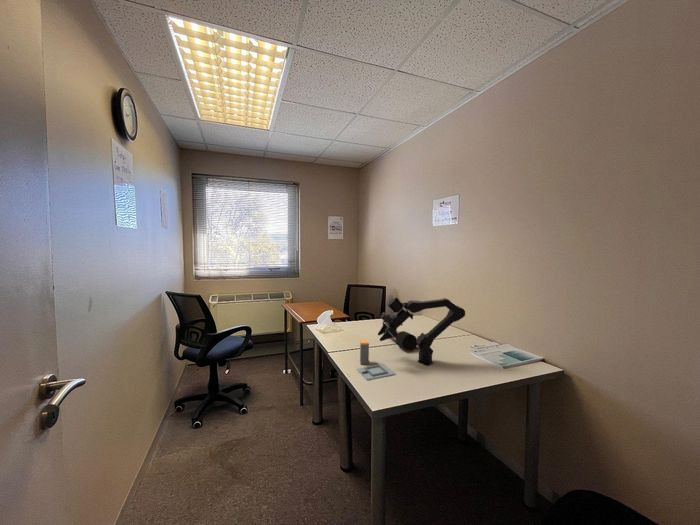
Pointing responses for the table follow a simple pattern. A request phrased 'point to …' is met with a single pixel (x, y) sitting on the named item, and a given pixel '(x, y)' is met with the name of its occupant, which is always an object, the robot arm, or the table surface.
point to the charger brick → (364, 352)
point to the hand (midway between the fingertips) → (379, 337)
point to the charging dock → (375, 371)
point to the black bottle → (405, 340)
